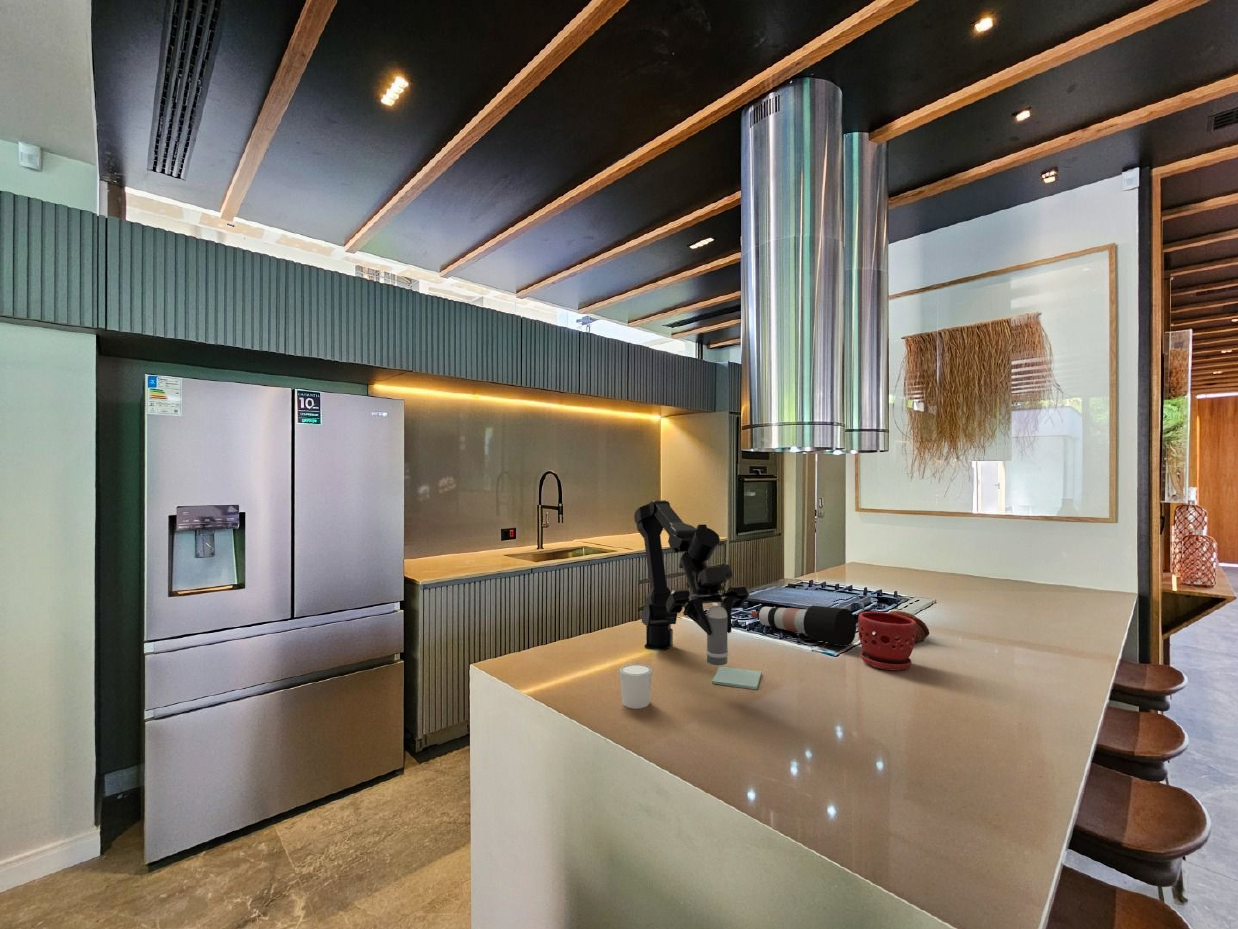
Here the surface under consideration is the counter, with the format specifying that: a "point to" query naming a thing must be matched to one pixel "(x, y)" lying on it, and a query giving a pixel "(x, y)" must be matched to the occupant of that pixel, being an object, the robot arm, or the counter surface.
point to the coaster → (737, 677)
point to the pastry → (920, 626)
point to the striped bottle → (812, 622)
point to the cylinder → (717, 636)
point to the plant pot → (886, 639)
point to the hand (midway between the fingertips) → (720, 633)
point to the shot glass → (635, 685)
